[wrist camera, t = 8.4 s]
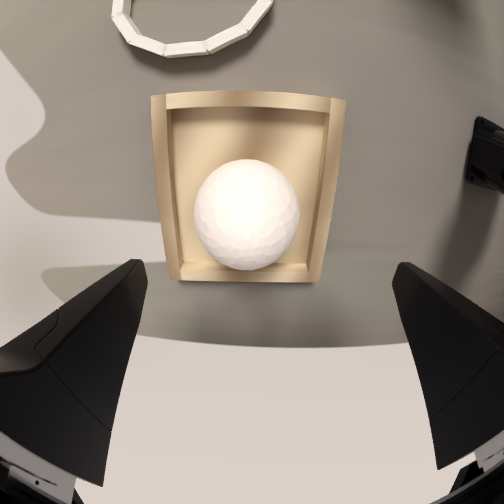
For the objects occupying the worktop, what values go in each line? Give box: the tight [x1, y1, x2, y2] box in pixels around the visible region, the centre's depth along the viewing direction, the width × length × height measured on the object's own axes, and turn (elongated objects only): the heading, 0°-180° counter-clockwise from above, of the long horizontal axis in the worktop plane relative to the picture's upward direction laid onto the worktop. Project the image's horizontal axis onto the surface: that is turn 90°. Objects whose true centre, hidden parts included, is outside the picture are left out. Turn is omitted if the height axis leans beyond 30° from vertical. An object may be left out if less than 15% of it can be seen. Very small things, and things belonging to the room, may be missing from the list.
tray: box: [151, 91, 346, 282], centre depth 19 cm, size 12×14×2 cm
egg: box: [194, 159, 300, 270], centre depth 16 cm, size 6×6×8 cm
